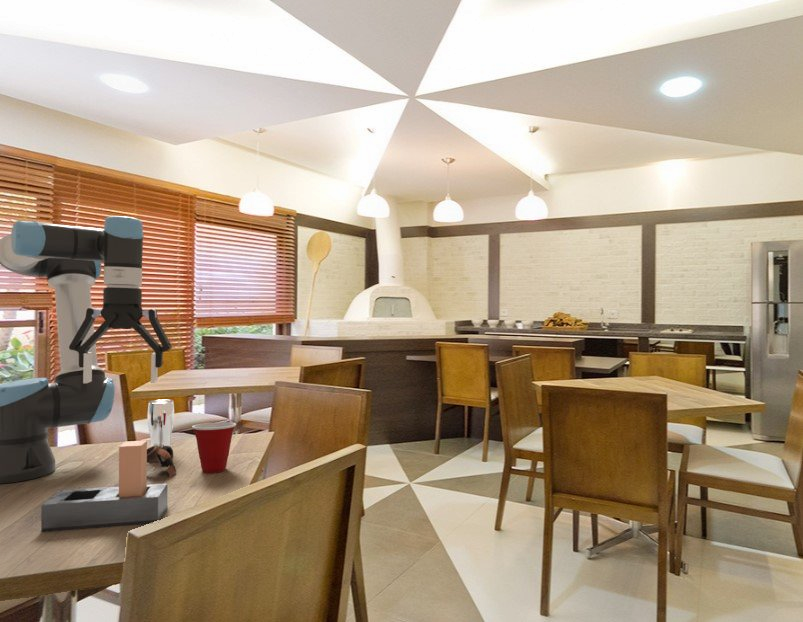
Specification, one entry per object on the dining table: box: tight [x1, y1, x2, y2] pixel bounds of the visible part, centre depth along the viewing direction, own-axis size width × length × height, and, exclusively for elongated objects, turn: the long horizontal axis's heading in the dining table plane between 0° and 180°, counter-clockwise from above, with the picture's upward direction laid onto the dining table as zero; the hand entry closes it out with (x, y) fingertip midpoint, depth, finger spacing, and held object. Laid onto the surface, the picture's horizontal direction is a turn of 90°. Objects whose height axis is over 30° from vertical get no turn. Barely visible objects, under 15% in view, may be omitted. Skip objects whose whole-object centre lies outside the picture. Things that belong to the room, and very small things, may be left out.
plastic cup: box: [191, 421, 237, 474], centre depth 132 cm, size 11×11×12 cm
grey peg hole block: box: [40, 482, 168, 533], centre depth 101 cm, size 20×8×5 cm, turn 103°
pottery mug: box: [147, 445, 177, 478], centre depth 129 cm, size 12×10×8 cm
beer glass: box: [147, 399, 175, 449], centre depth 147 cm, size 7×7×15 cm
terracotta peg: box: [118, 440, 148, 497], centre depth 102 cm, size 4×4×14 cm
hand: (121, 382), depth 114 cm, fingers open, 13 cm apart
